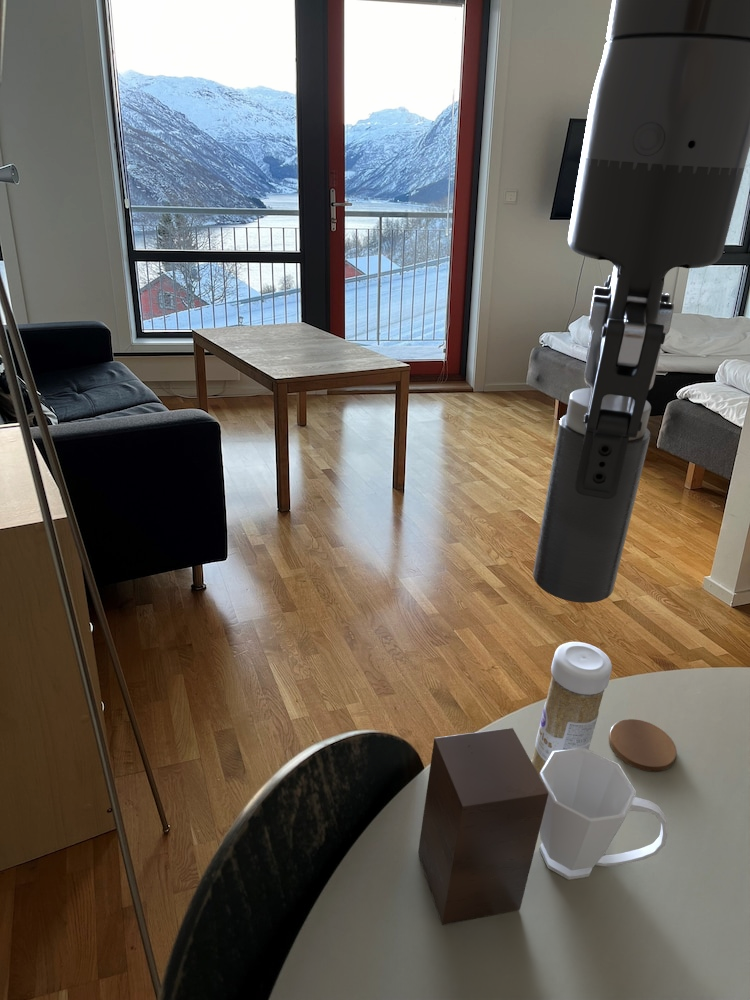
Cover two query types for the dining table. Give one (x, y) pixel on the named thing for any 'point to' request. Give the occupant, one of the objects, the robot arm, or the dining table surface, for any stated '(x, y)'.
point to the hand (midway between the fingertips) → (595, 472)
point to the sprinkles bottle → (572, 700)
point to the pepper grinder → (586, 511)
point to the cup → (588, 813)
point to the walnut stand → (480, 824)
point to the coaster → (642, 745)
